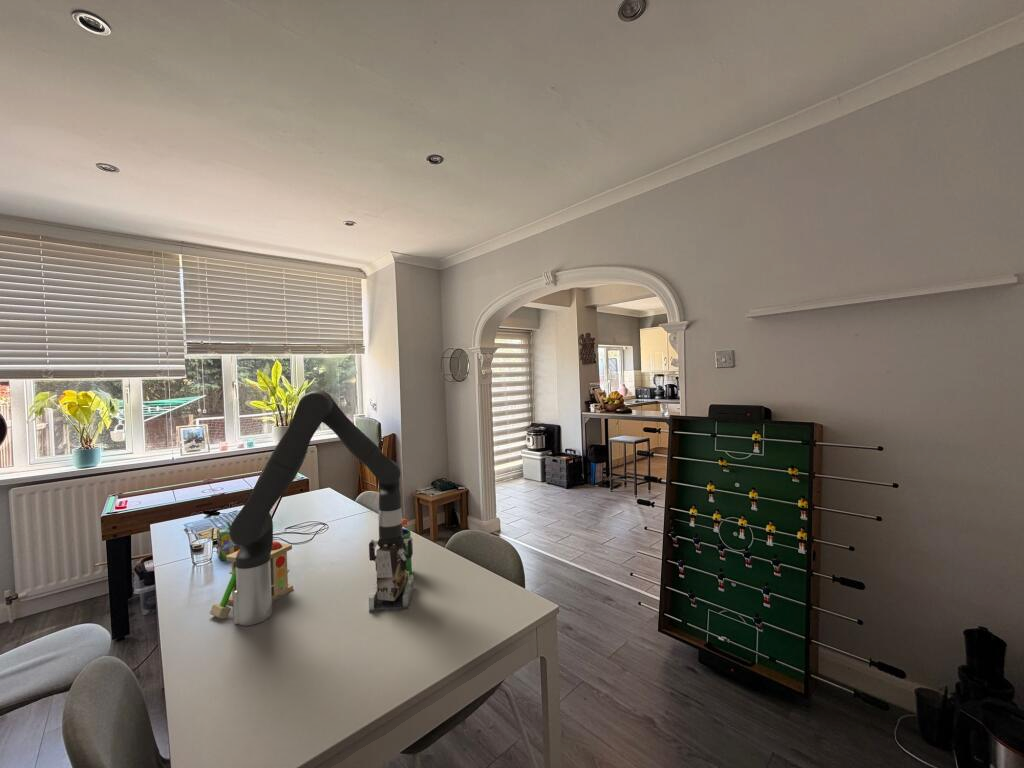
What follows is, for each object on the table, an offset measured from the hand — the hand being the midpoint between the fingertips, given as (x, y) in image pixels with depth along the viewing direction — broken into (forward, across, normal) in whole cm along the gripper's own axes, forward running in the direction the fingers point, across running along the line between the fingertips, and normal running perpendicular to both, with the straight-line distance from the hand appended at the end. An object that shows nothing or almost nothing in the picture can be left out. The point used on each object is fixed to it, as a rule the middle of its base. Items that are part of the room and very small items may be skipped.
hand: (391, 571), depth 139 cm
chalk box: (+9, -76, +48) cm, 91 cm away
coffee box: (+8, 0, 0) cm, 8 cm away
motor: (+10, -1, +19) cm, 22 cm away
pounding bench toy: (+10, -48, +6) cm, 49 cm away
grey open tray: (+9, 0, 0) cm, 10 cm away
